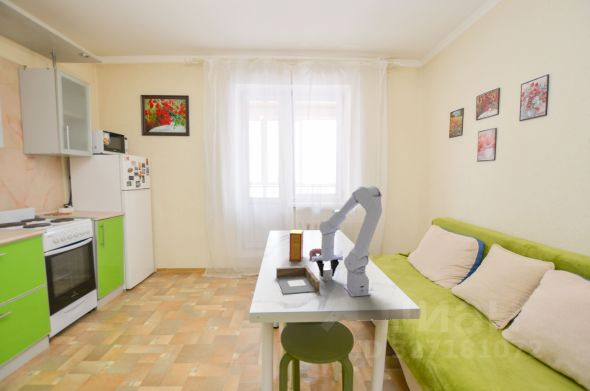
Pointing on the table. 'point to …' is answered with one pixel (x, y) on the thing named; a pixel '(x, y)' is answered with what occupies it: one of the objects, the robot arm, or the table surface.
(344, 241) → the table surface
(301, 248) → the baking soda box
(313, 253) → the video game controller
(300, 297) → the table surface
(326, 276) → the aluminium bracket
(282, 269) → the corner walls
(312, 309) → the table surface
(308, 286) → the mat
